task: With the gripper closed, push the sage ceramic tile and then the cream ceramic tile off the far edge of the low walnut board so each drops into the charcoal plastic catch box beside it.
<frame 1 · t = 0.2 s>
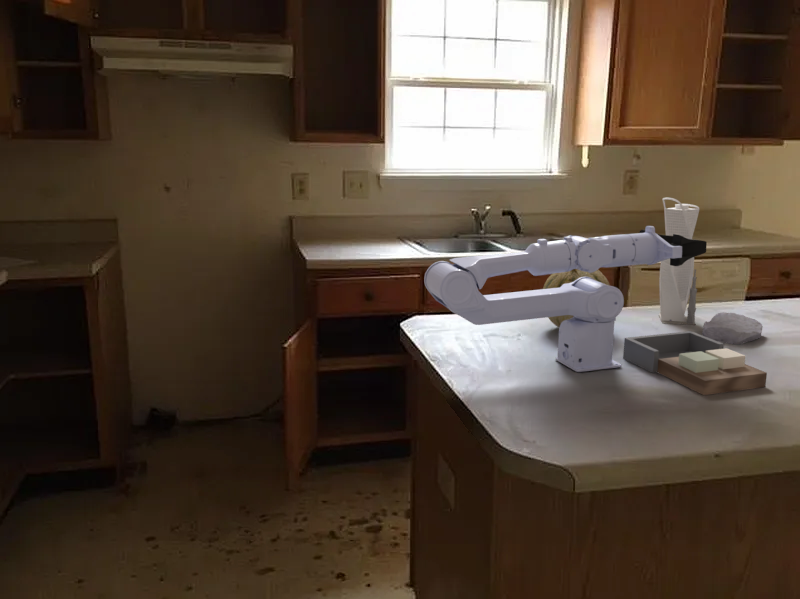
hand: (691, 244, 134), 21 cm above the table, tool horizontal, fingers open, 7 cm apart
skyscraper: (672, 321, 165), on the table
sage tile: (697, 367, 124), point 2 cm above the table, touching walnut board
cream tile: (724, 364, 126), point 2 cm above the table, touching walnut board
catch box: (673, 362, 135), on the table
stone block: (733, 339, 151), on the table
cantaloupe: (574, 331, 156), on the table
walnut board: (709, 379, 126), on the table
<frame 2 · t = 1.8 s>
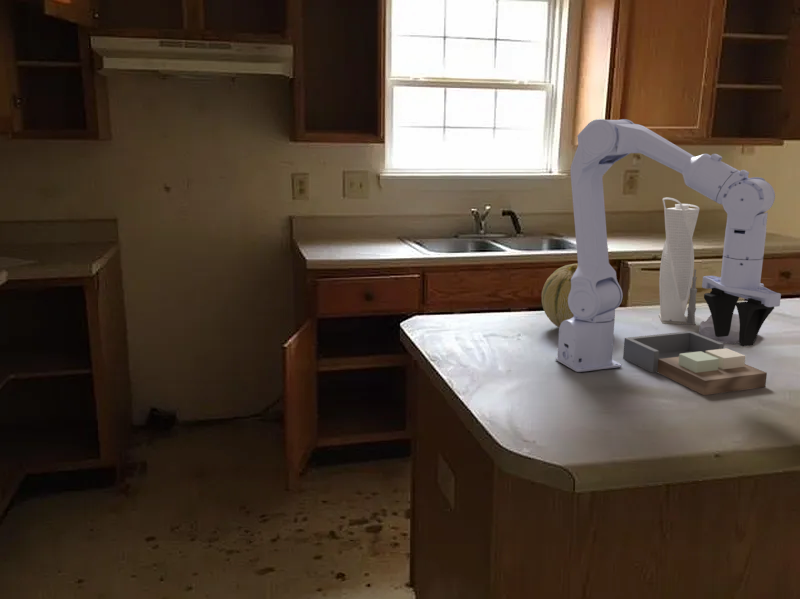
hand: (733, 340, 116), 9 cm above the table, tool pointing down, fingers open, 5 cm apart
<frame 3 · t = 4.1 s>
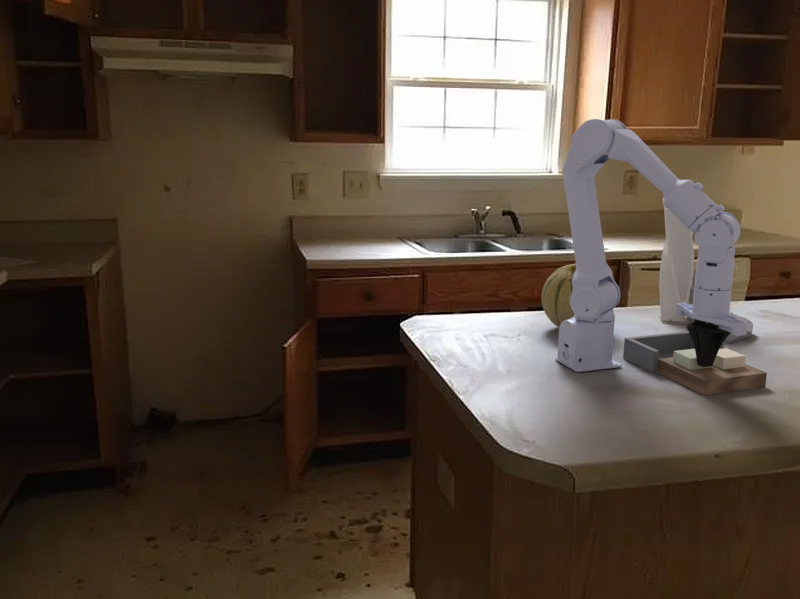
hand: (705, 365, 122), 3 cm above the table, tool pointing down, fingers closed
sage tile: (691, 364, 126), point 3 cm above the table
stone block: (724, 337, 152), on the table
everything else where it was.
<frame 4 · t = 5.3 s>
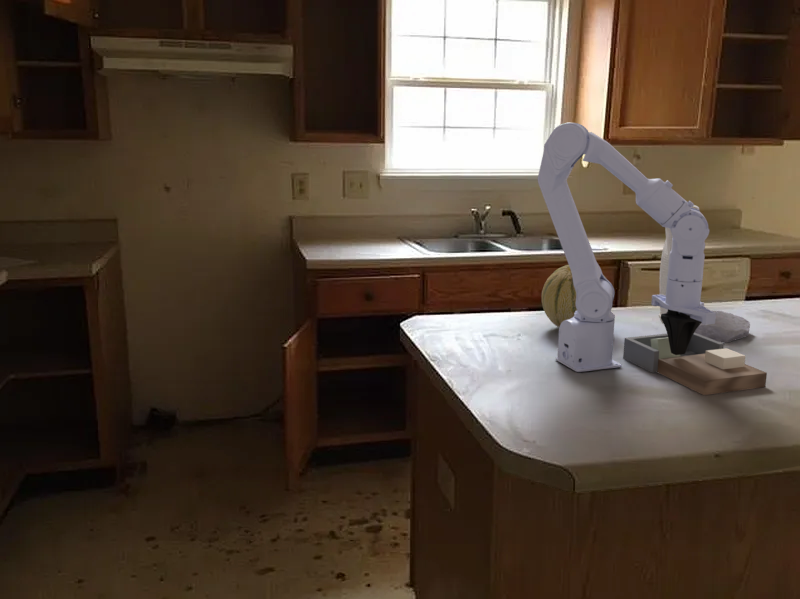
hand: (678, 353, 129), 3 cm above the table, tool pointing down, fingers closed
sage tile: (669, 350, 131), point 3 cm above the table, tilted 106°, touching catch box
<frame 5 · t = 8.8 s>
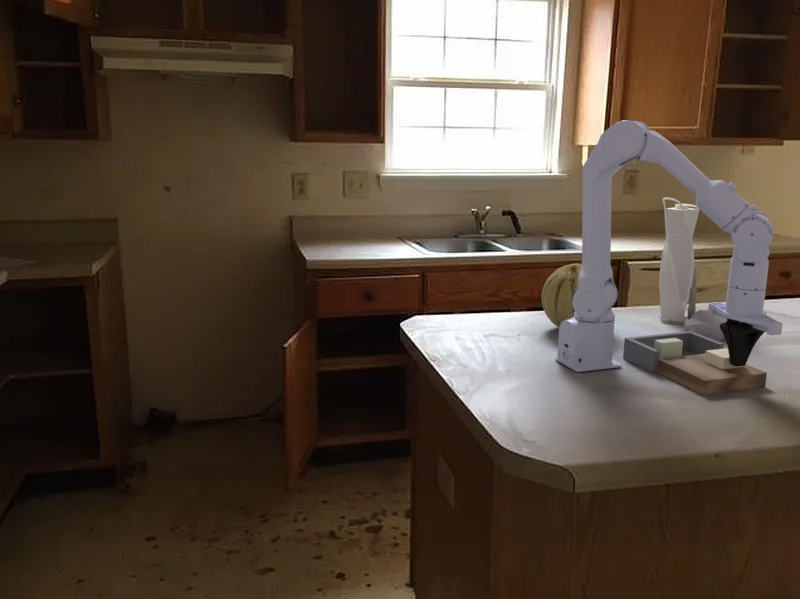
hand: (737, 364, 123), 3 cm above the table, tool pointing down, fingers closed
sage tile: (671, 353, 131), point 3 cm above the table, tilted 90°, touching catch box
cream tile: (724, 364, 126), point 2 cm above the table, touching gripper, walnut board
stone block: (713, 335, 154), on the table
everything else where it was.
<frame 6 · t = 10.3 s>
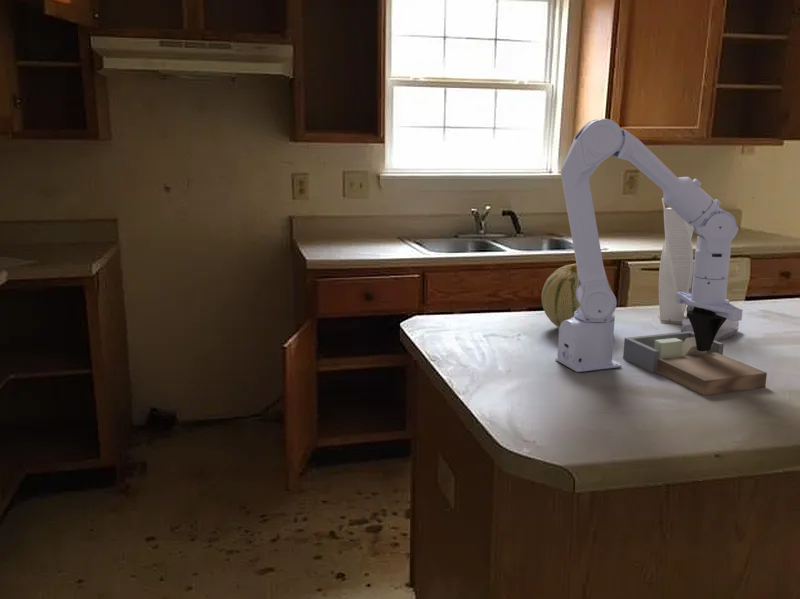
hand: (703, 350, 131), 3 cm above the table, tool pointing down, fingers closed
cream tile: (696, 352, 133), point 2 cm above the table, tilted 53°, touching catch box, gripper
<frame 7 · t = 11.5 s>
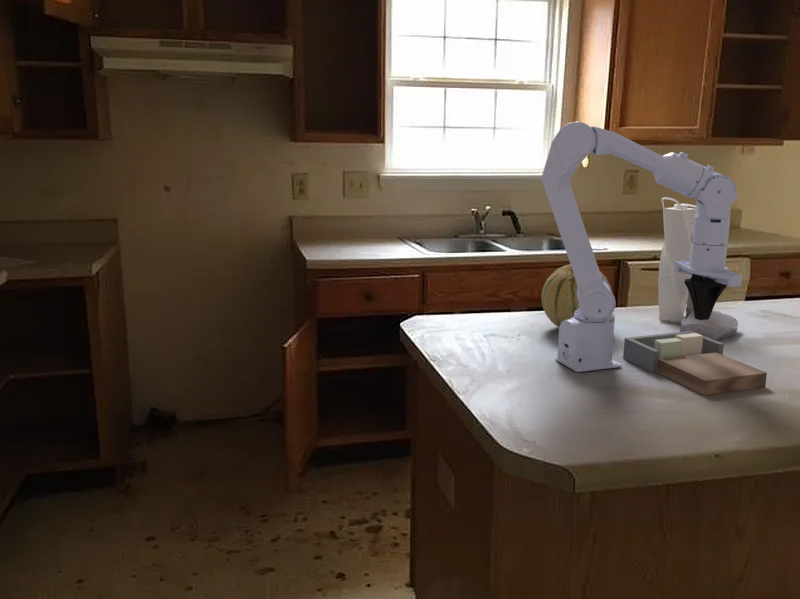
hand: (701, 318, 129), 9 cm above the table, tool pointing down, fingers closed
cream tile: (691, 348, 134), point 3 cm above the table, tilted 90°, touching catch box
everything else where it was.
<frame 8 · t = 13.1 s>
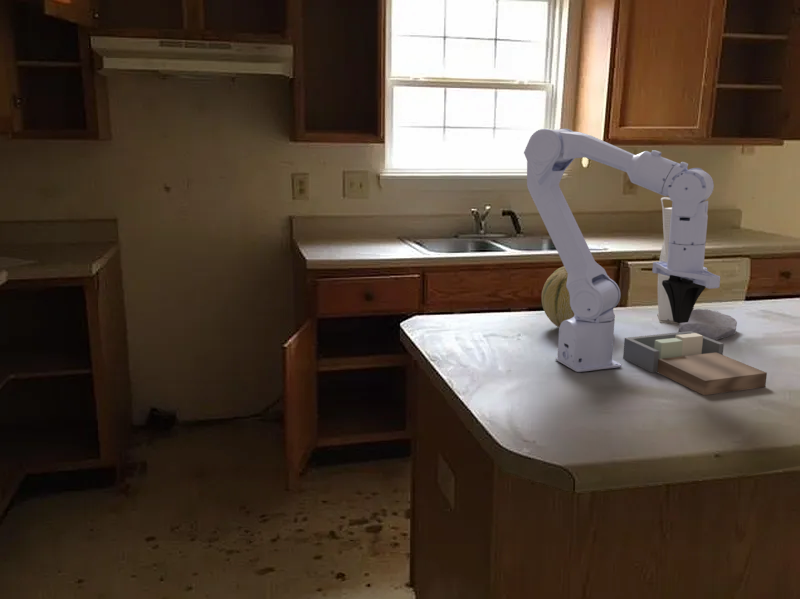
hand: (680, 321, 123), 10 cm above the table, tool pointing down, fingers closed
nothing on the table moved.
at the end: sage tile inside the target area on the catch box (4.4 cm from its centre), point 2.7 cm above the catch box's base; cream tile inside the target area on the catch box (3.3 cm from its centre), point 2.7 cm above the catch box's base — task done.
